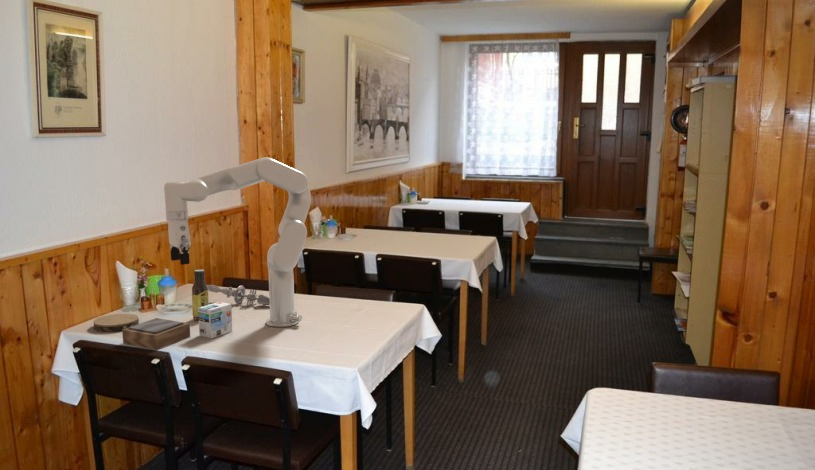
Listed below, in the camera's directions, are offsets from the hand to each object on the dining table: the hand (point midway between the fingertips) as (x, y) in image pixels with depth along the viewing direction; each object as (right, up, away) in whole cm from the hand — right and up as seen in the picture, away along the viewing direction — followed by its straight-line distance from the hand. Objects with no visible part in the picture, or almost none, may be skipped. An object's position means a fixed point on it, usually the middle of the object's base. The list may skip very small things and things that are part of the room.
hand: (180, 262), depth 245 cm
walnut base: (-7, -28, -5) cm, 29 cm away
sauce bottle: (+1, -24, +21) cm, 32 cm away
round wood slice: (-29, -26, +12) cm, 40 cm away
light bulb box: (+12, -27, +3) cm, 30 cm away
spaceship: (+10, -20, +45) cm, 51 cm away
